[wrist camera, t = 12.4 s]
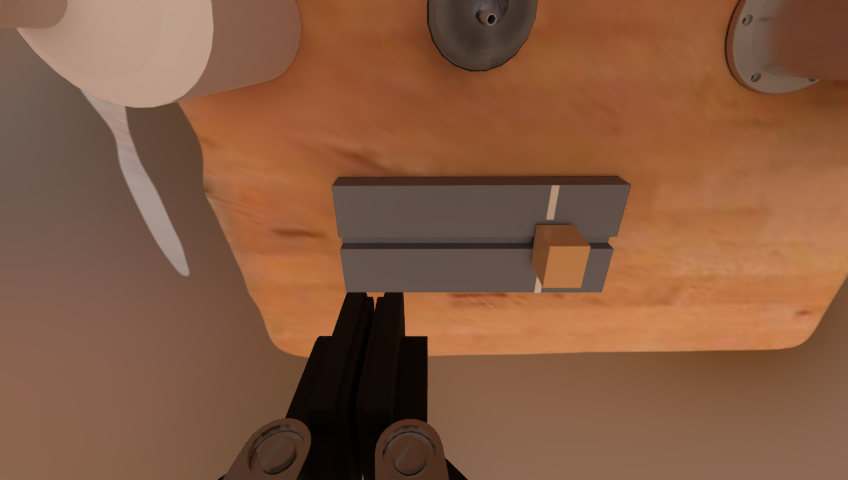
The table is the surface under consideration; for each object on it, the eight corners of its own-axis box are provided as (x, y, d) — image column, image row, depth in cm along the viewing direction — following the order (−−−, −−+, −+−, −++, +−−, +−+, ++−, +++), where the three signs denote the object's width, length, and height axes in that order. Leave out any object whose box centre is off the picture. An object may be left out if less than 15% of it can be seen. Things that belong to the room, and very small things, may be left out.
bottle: (326, 6, 33) (122, -87, 11) (268, 111, 38) (40, 192, 16) (205, -97, 30) (-427, -523, 8) (158, 31, 34) (-334, -11, 12)
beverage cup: (519, 3, 33) (623, -56, 15) (479, 80, 36) (527, 105, 18) (449, -40, 32) (475, -160, 14) (414, 44, 35) (398, 34, 17)
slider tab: (567, 218, 41) (590, 246, 35) (560, 256, 43) (580, 287, 37) (532, 219, 41) (550, 246, 35) (527, 256, 43) (542, 287, 38)
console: (617, 176, 40) (631, 185, 38) (591, 278, 47) (601, 292, 44) (338, 177, 41) (331, 186, 38) (350, 278, 47) (345, 292, 45)
